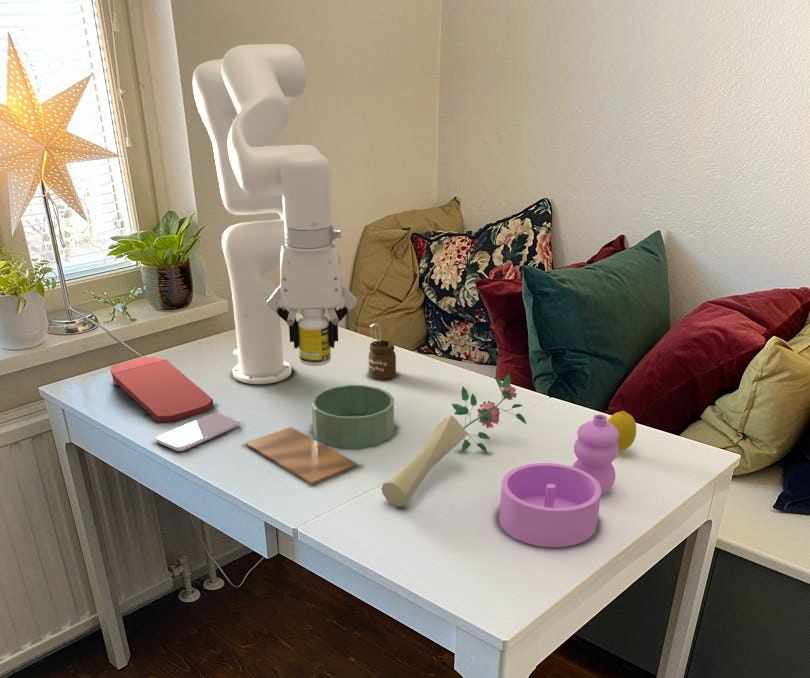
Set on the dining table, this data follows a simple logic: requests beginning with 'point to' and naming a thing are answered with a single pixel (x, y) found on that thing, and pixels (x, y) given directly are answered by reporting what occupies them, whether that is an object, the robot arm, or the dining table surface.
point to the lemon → (624, 428)
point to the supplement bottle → (314, 337)
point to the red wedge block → (160, 388)
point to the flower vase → (445, 444)
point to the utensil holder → (382, 357)
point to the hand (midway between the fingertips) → (314, 344)
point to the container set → (561, 491)
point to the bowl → (353, 429)
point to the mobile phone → (197, 432)
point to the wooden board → (301, 455)
